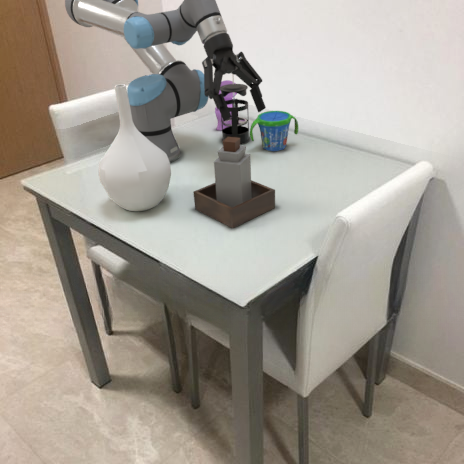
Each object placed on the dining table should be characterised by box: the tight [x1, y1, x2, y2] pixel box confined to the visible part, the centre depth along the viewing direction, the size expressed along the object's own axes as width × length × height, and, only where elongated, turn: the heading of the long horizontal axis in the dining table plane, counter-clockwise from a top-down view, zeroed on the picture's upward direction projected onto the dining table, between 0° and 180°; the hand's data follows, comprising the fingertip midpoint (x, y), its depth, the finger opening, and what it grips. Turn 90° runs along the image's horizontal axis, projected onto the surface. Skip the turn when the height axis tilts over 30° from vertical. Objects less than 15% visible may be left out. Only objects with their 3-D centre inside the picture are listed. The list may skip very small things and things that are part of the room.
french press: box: [220, 67, 251, 145], centre depth 162 cm, size 12×9×23 cm
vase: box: [98, 83, 172, 212], centre depth 125 cm, size 18×18×30 cm
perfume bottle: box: [213, 137, 252, 207], centre depth 124 cm, size 7×7×18 cm
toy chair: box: [214, 79, 238, 131], centre depth 176 cm, size 8×9×15 cm
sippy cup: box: [249, 110, 299, 152], centre depth 159 cm, size 16×10×10 cm
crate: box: [193, 179, 276, 229], centre depth 128 cm, size 15×15×5 cm
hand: (245, 114), depth 139 cm, fingers open, 13 cm apart
